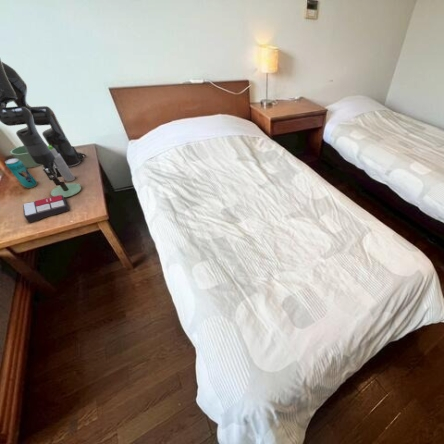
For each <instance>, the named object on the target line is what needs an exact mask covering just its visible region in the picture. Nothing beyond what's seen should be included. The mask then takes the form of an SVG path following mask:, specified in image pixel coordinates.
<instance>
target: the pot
mask: <svg viewBox="0 0 444 444" xmlns="http://www.w3.org/2000/svg"><path fill="white" fill-rule="evenodd" d="M9 152H10V153H9V154H11V156H12V157H13V158H17V159H19V160H20V161H21V162H22V163H23V164H24V166H25V167H26V168H27V169H28V168H29V169H30V168H36V167H40V166H43V165H42V164H37V163H35V161H34V160H33V159H32V157H31V156H30V154H29V153H28V151H27V150H26V148H25V146H24V145H19V146H17V147H14V148H13V149H11V150H10V151H9Z"/></svg>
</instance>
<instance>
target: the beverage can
mask: <svg viewBox="0 0 444 444" xmlns="http://www.w3.org/2000/svg"><path fill="white" fill-rule="evenodd" d="M4 163H5V166H6V167H7V168H8V169H9V171H10V172H11V174H13V176H14V177H15V178H16V180H17V181H18V182H19V183H20V184H21V185H22V186H23V187H25V188H27V189H31V188H35V187H36V186H37V185H38V184H37V183H38V182H37V180H36V179H35V178H34V176H33V175H32V174H31V172H30V171H29V169H28V168H26V167H25V166H24V164H23V163H22V162H21V161H20V160H19V159H17V158H14V157H13V158H9V159H7V160H5V161H4Z"/></svg>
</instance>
